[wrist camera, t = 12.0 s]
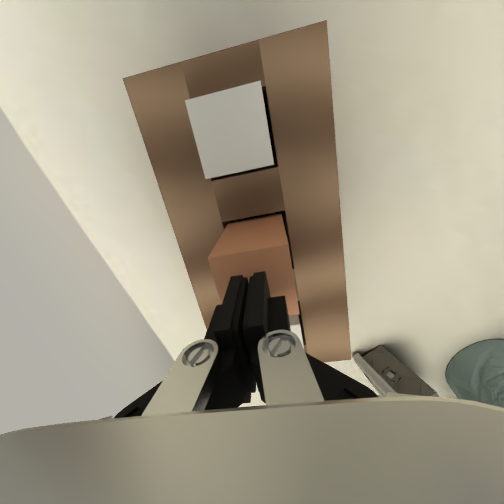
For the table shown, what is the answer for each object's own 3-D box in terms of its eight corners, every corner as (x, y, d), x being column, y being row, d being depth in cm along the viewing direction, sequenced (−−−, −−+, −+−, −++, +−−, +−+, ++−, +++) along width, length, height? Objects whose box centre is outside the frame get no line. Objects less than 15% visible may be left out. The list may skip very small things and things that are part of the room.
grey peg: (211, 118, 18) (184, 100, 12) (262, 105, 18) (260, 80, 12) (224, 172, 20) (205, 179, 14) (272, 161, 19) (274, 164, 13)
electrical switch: (349, 352, 27) (390, 425, 20) (385, 332, 27) (443, 399, 19) (381, 396, 30) (429, 477, 22) (416, 378, 29) (479, 455, 21)
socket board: (158, 97, 19) (122, 78, 14) (310, 56, 17) (326, 20, 13) (229, 336, 27) (221, 372, 23) (336, 323, 26) (351, 359, 21)
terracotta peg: (227, 223, 18) (207, 258, 12) (281, 213, 17) (288, 244, 11) (239, 271, 19) (227, 323, 13) (289, 263, 19) (299, 314, 13)
